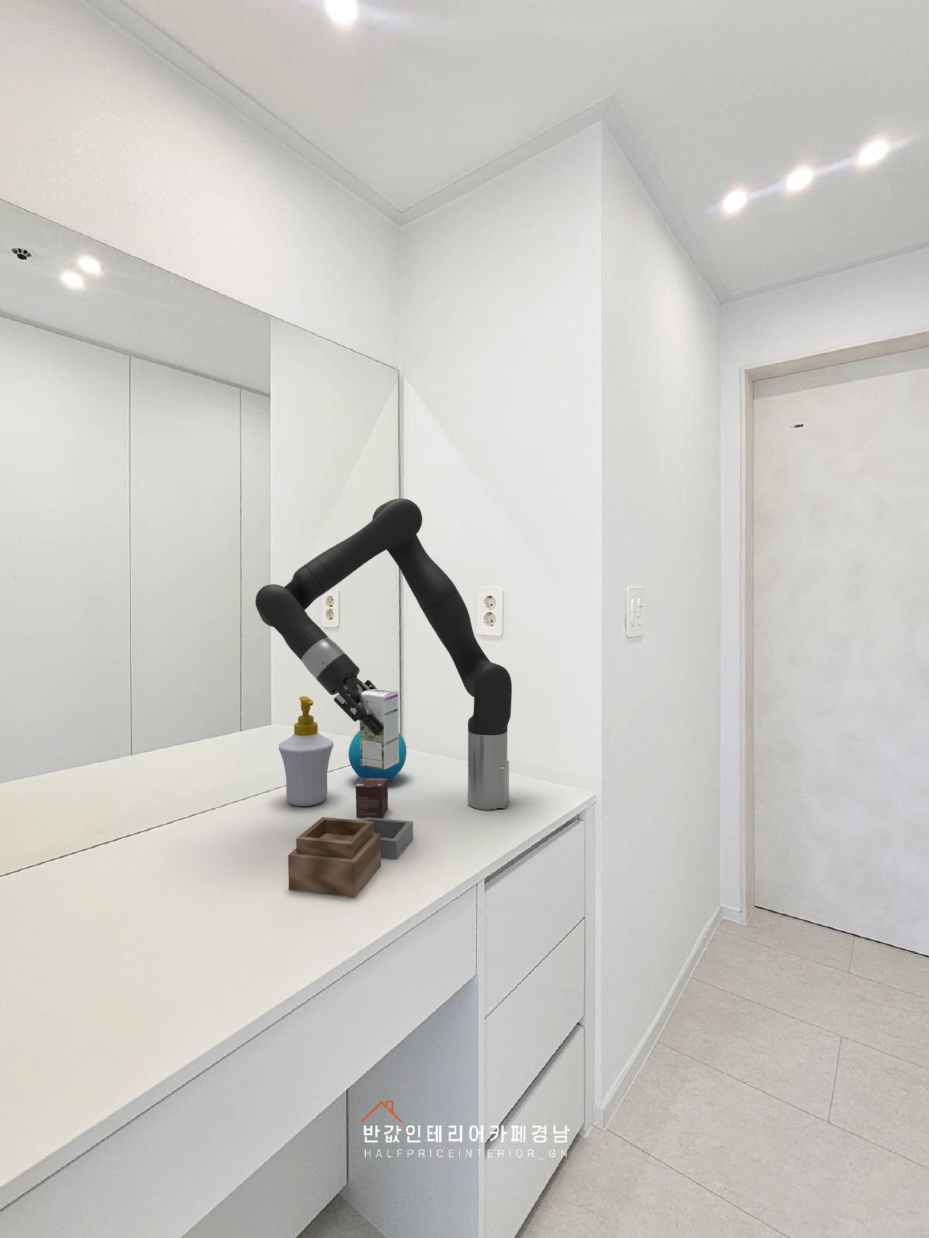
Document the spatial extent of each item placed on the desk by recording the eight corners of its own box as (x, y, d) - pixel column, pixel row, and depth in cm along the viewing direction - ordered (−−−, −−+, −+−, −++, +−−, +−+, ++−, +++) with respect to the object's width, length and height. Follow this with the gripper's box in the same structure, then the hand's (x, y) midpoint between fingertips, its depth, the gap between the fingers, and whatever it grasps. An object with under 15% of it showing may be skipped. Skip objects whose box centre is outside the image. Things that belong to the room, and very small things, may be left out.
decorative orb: (417, 776, 167) (416, 721, 166) (387, 793, 153) (387, 733, 153) (369, 769, 173) (368, 716, 172) (337, 785, 160) (336, 727, 159)
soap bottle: (285, 814, 140) (283, 705, 138) (274, 797, 151) (272, 696, 150) (340, 805, 146) (339, 700, 144) (326, 789, 157) (325, 691, 155)
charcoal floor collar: (412, 838, 127) (412, 821, 127) (396, 859, 117) (396, 841, 117) (366, 833, 129) (366, 817, 129) (346, 854, 119) (346, 836, 119)
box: (388, 809, 143) (388, 777, 143) (382, 819, 137) (382, 786, 137) (362, 808, 144) (362, 777, 143) (355, 818, 138) (355, 785, 137)
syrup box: (400, 762, 124) (399, 689, 123) (384, 770, 118) (383, 694, 117) (375, 758, 126) (375, 687, 125) (358, 766, 121) (358, 692, 120)
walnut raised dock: (381, 865, 115) (380, 819, 114) (355, 897, 103) (354, 847, 102) (320, 859, 117) (319, 814, 117) (288, 889, 106) (287, 840, 105)
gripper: (326, 657, 115) (387, 723, 114) (357, 648, 129) (411, 707, 128) (300, 684, 117) (360, 750, 115) (333, 673, 131) (387, 731, 129)
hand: (387, 727), depth 121 cm, fingers closed on syrup box, 6 cm apart
